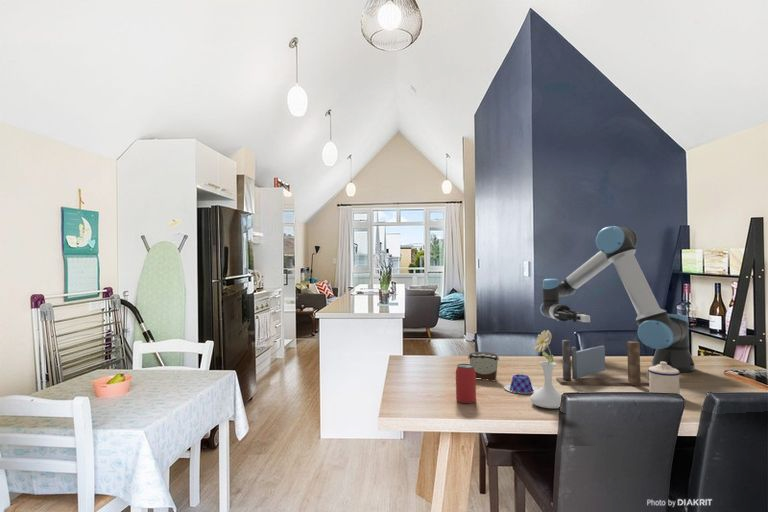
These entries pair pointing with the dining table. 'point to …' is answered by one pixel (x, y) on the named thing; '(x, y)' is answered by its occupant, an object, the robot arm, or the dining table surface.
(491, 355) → the food container
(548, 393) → the flower in vase
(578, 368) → the gate leaf
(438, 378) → the dining table surface
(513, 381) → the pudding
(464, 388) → the beer can
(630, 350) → the gate frame
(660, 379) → the teacup with lid
